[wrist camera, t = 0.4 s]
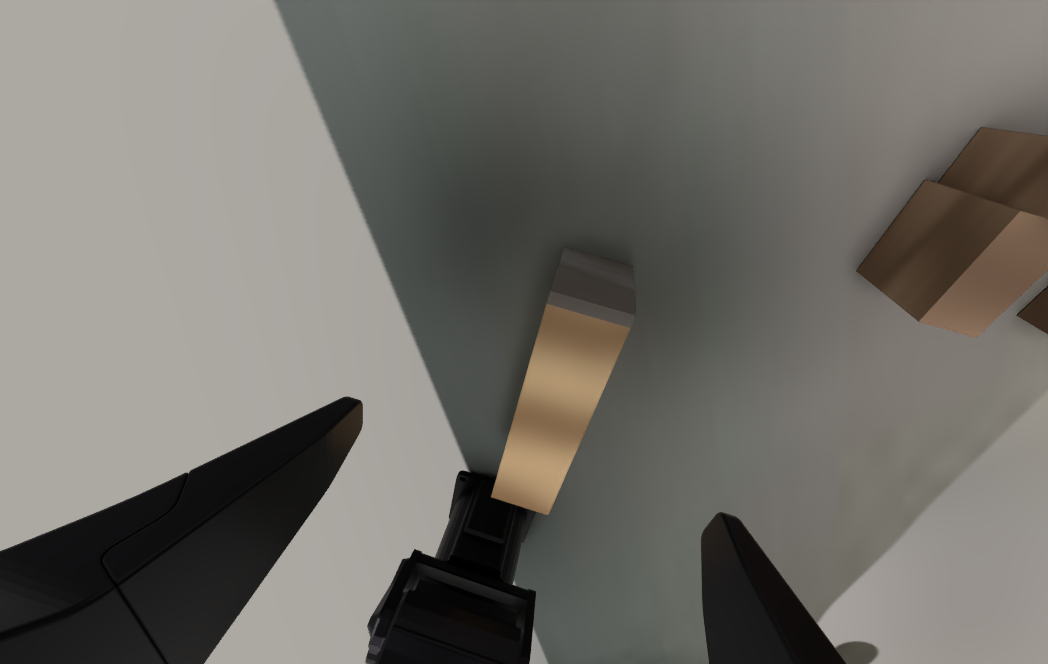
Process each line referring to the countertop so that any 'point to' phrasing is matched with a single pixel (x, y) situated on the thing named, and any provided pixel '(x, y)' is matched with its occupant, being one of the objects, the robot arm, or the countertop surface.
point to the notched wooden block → (971, 237)
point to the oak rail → (565, 376)
